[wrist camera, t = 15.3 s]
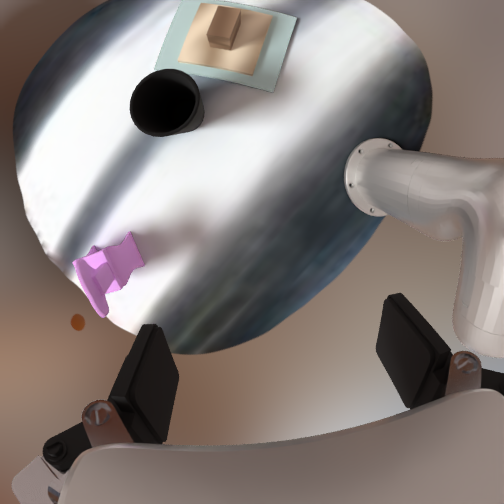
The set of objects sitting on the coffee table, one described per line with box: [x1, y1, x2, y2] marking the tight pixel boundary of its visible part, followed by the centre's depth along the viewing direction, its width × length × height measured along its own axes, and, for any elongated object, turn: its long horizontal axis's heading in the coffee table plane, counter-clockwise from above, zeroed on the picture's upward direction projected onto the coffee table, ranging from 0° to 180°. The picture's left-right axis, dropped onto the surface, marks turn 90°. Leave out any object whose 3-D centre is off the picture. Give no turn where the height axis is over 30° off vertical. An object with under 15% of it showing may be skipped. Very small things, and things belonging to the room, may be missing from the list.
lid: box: [177, 3, 273, 76], centre depth 27 cm, size 11×11×6 cm
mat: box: [154, 0, 297, 92], centre depth 30 cm, size 18×14×1 cm
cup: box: [130, 69, 204, 137], centre depth 29 cm, size 8×8×12 cm
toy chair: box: [73, 232, 145, 318], centre depth 36 cm, size 8×9×15 cm
